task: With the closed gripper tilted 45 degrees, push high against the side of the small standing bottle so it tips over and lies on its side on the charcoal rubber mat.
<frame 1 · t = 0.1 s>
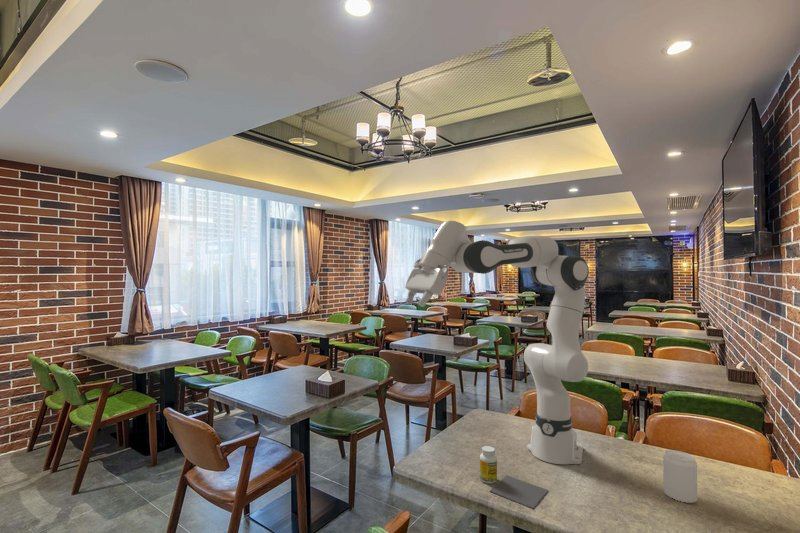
hand: (414, 304, 119), 54 cm above the table, tool tilted 30°, fingers open, 8 cm apart
rubber mat: (519, 491, 114), on the table
supplement bottle: (488, 480, 121), on the table
beverage can: (679, 497, 113), on the table
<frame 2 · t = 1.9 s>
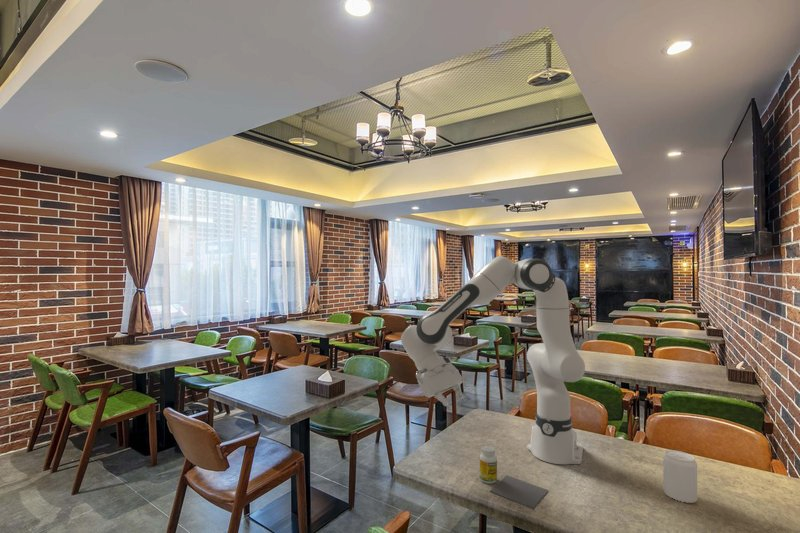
hand: (454, 401, 129), 22 cm above the table, tool tilted 45°, fingers open, 8 cm apart
nothing on the table moved.
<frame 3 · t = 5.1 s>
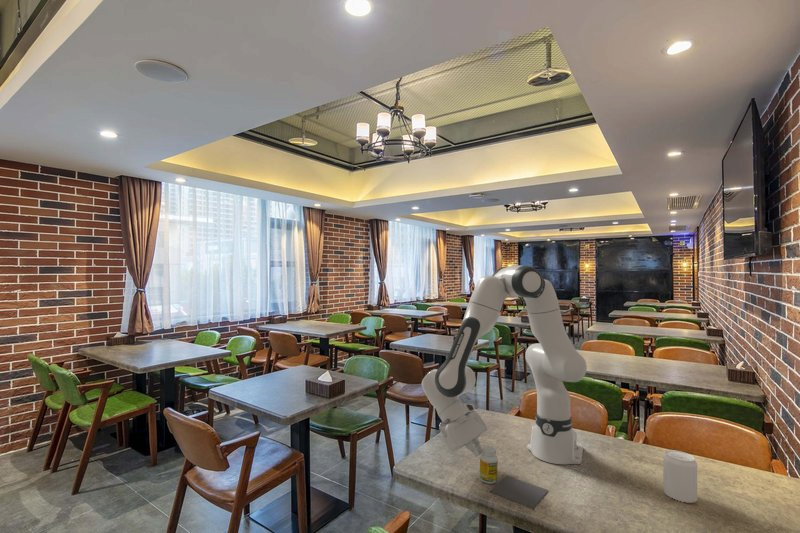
hand: (480, 454, 123), 7 cm above the table, tool tilted 45°, fingers closed, pressing on supplement bottle
supplement bottle: (488, 480, 121), on the table, touching gripper
everything else where it was.
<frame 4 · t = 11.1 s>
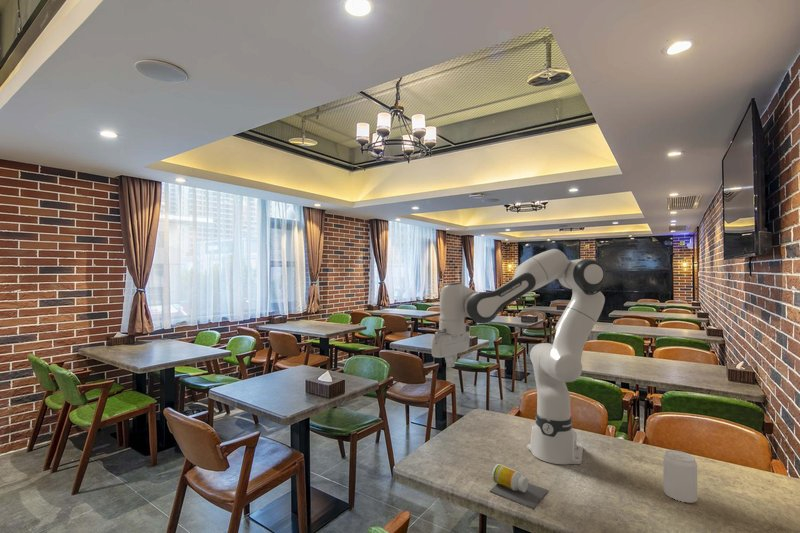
hand: (450, 366, 138), 31 cm above the table, tool pointing down, fingers closed
supplement bottle: (495, 472, 119), point 3 cm above the table, touching rubber mat
everything else where it was.
at the end: supplement bottle tilted 90°; supplement bottle touching rubber mat; supplement bottle inside the target area (3.6 cm from its centre), point 3.0 cm above the table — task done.
